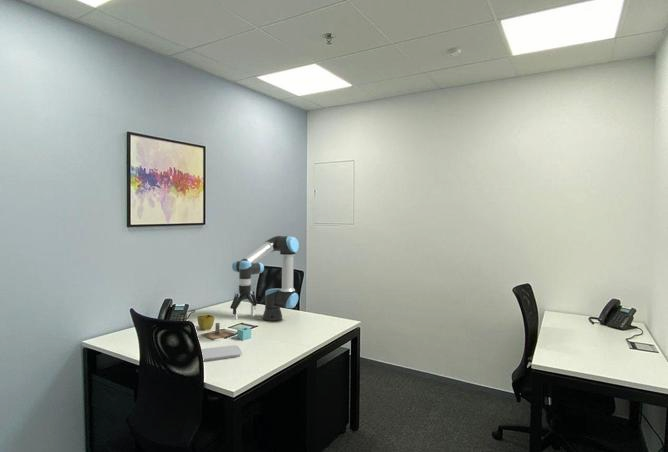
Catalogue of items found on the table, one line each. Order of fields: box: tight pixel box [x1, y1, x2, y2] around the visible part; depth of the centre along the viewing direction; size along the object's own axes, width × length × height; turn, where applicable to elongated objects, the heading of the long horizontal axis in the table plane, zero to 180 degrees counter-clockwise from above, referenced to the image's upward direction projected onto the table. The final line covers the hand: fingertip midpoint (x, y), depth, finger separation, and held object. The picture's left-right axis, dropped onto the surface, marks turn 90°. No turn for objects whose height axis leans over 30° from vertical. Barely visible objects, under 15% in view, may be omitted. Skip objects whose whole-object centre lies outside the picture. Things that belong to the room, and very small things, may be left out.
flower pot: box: [197, 313, 215, 331], centre depth 266 cm, size 9×9×9 cm
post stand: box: [200, 322, 235, 341], centre depth 254 cm, size 16×14×8 cm
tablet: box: [201, 344, 243, 363], centre depth 218 cm, size 16×26×2 cm, turn 115°
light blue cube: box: [236, 326, 252, 341], centre depth 249 cm, size 6×6×6 cm
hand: (244, 317), depth 248 cm, fingers open, 13 cm apart
